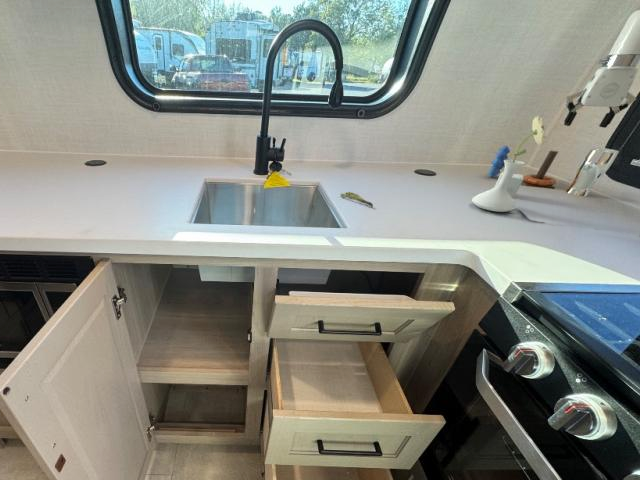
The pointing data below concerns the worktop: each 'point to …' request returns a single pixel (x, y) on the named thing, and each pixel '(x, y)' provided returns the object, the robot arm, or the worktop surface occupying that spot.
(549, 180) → the ring
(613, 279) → the worktop surface
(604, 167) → the beer glass
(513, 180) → the product carton
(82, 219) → the worktop surface
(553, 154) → the stand
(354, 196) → the green bird figurine
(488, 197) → the flower in vase
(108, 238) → the worktop surface
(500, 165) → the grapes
